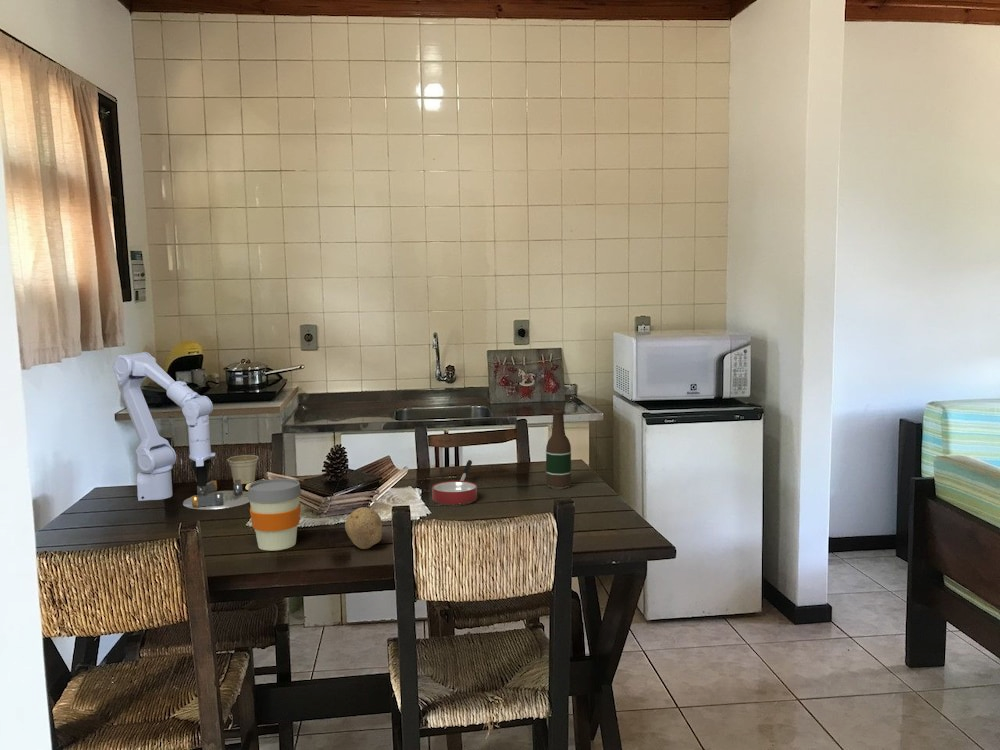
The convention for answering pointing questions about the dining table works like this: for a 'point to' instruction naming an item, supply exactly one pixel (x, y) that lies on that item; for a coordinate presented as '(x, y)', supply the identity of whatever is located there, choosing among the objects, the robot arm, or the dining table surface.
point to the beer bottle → (558, 453)
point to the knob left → (207, 488)
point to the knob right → (237, 487)
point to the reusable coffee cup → (275, 512)
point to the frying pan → (455, 490)
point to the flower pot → (243, 467)
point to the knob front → (207, 500)
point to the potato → (364, 527)
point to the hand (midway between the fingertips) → (202, 485)
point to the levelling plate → (228, 498)
